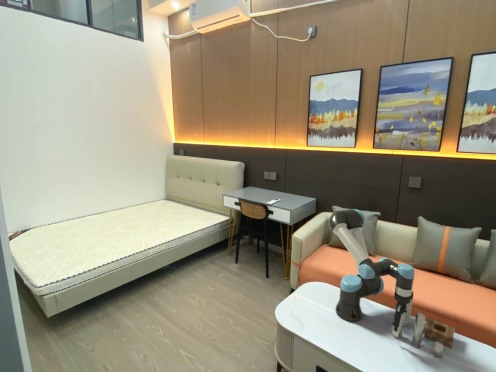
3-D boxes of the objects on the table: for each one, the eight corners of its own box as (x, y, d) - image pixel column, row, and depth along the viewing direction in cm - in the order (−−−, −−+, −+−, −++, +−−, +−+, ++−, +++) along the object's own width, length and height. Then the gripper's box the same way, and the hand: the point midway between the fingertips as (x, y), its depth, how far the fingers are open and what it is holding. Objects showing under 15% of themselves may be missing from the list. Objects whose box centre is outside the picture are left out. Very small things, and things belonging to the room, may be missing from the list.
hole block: (423, 337, 143) (425, 327, 142) (426, 326, 151) (428, 317, 149) (451, 348, 136) (453, 339, 134) (452, 337, 143) (454, 328, 142)
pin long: (411, 345, 138) (415, 315, 134) (412, 340, 141) (417, 311, 137) (419, 349, 135) (424, 319, 131) (421, 344, 138) (426, 314, 134)
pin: (392, 336, 144) (395, 314, 141) (393, 332, 147) (396, 310, 144) (400, 340, 141) (403, 317, 138) (402, 336, 144) (405, 313, 141)
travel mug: (403, 326, 151) (408, 295, 147) (394, 318, 157) (398, 288, 153) (412, 324, 153) (416, 293, 148) (403, 316, 159) (407, 287, 155)
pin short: (431, 354, 132) (433, 344, 131) (432, 350, 135) (434, 340, 134) (441, 359, 129) (443, 349, 128) (442, 354, 132) (444, 344, 131)
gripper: (405, 307, 127) (400, 345, 132) (415, 285, 145) (410, 320, 149) (388, 301, 132) (384, 338, 136) (400, 280, 150) (395, 314, 154)
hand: (398, 328), depth 143 cm, fingers open, 12 cm apart
